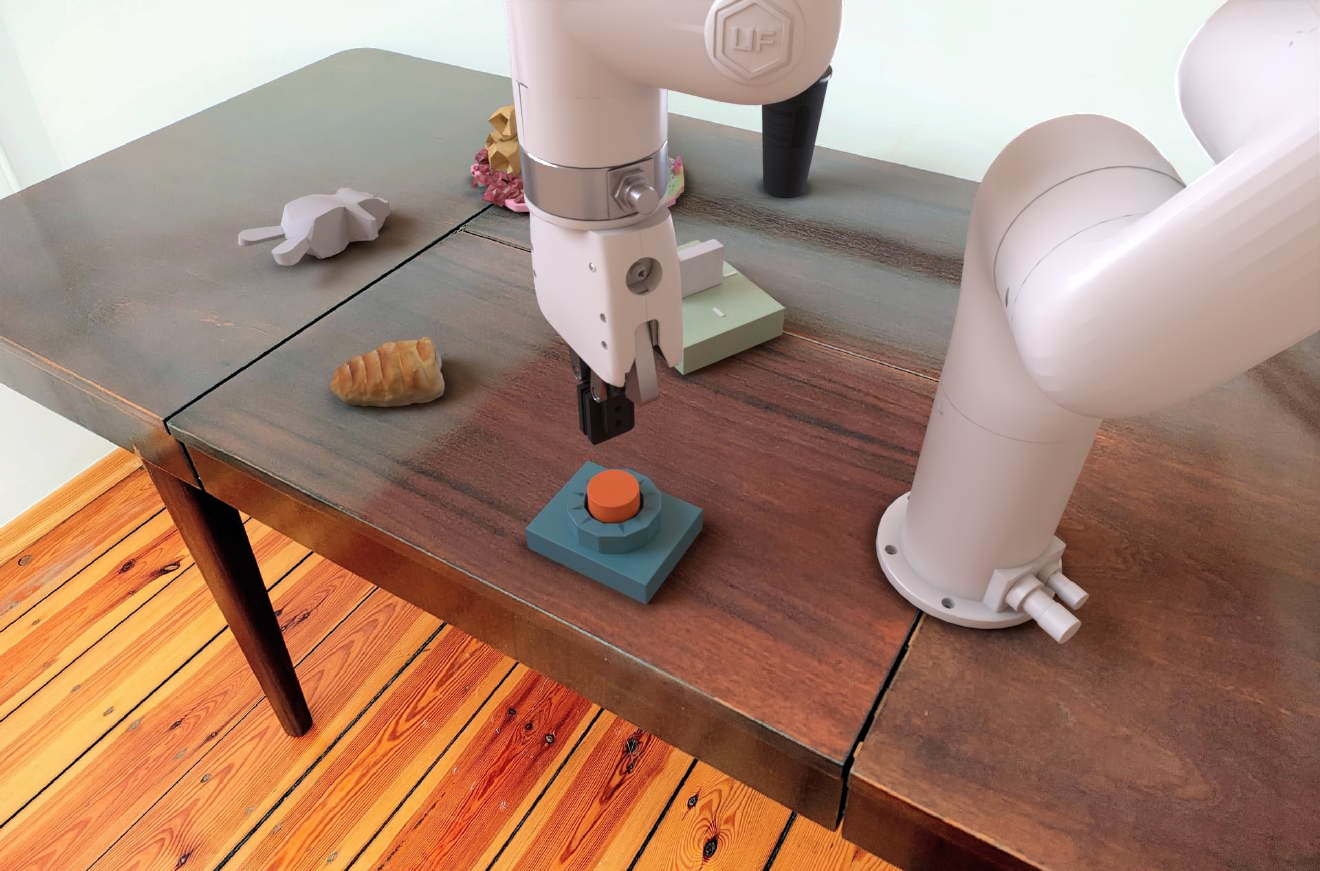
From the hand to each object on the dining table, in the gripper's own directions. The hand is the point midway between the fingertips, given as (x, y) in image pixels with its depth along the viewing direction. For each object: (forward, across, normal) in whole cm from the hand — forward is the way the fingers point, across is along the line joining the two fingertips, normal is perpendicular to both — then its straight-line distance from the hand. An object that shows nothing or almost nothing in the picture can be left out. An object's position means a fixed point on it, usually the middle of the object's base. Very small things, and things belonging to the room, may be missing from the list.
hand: (607, 430), depth 61 cm
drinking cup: (+11, +35, -43) cm, 57 cm away
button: (+7, 0, 0) cm, 7 cm away
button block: (+11, 0, 0) cm, 11 cm away
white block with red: (+8, +20, -20) cm, 29 cm away
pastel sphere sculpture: (+11, +50, -25) cm, 57 cm away
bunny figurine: (+11, +51, +5) cm, 52 cm away
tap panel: (+11, +20, -20) cm, 30 cm away
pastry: (+11, +25, +7) cm, 28 cm away
